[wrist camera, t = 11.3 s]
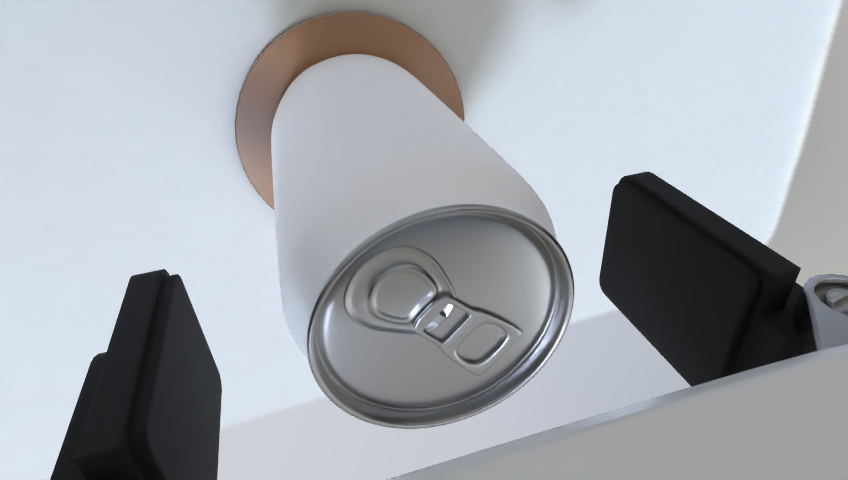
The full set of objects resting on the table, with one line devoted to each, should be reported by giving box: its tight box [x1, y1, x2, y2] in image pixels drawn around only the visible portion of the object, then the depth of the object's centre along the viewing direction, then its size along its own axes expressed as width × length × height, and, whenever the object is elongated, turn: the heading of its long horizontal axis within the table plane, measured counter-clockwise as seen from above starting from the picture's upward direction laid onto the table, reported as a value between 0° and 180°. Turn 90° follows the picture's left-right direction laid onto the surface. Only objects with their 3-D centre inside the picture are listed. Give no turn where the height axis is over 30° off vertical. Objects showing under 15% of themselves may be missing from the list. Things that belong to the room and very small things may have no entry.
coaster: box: [235, 12, 464, 210], centre depth 21 cm, size 9×9×1 cm
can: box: [271, 54, 574, 429], centre depth 15 cm, size 6×6×12 cm
